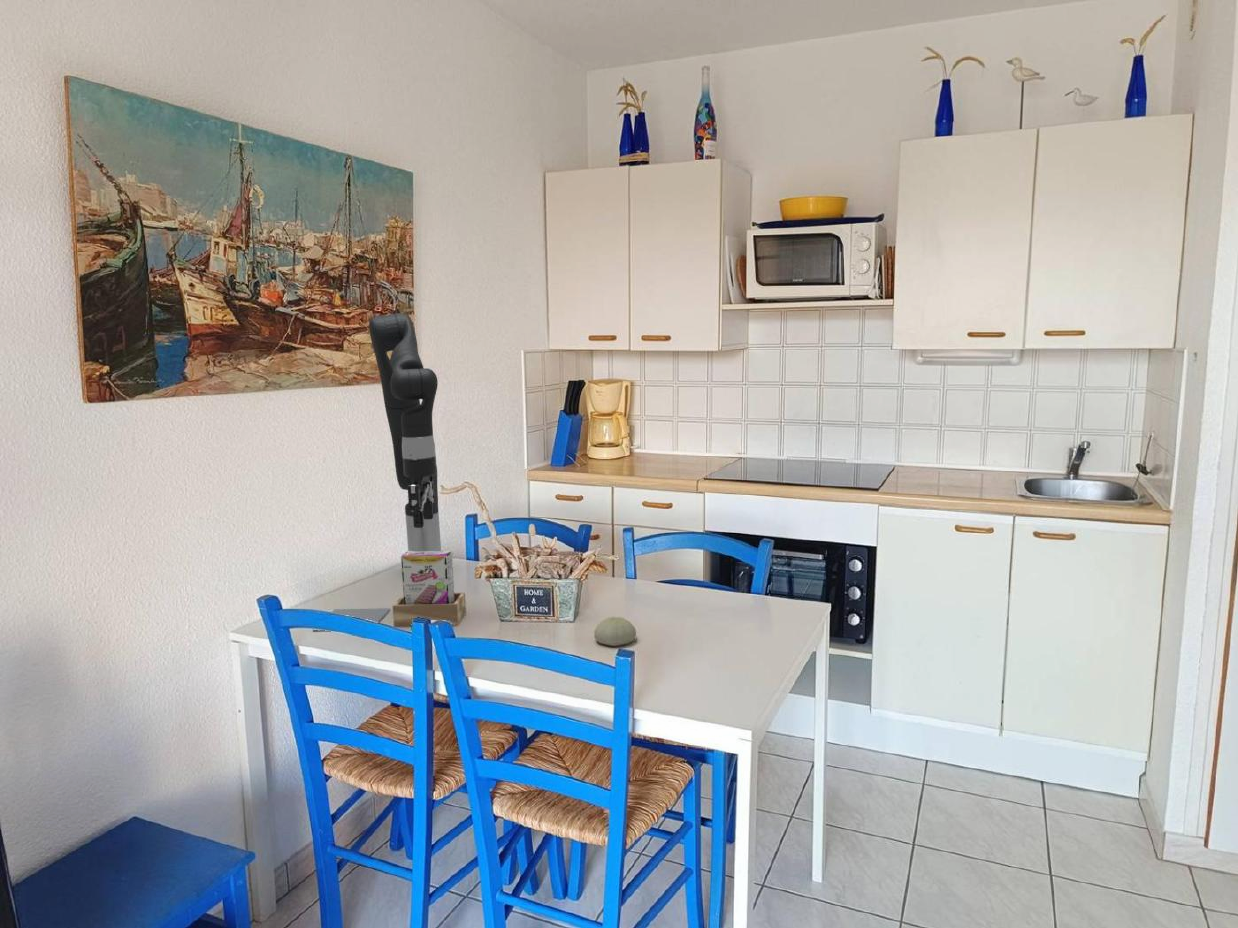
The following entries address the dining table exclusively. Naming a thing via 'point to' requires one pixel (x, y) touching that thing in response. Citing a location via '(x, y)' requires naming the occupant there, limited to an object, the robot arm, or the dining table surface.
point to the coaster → (364, 613)
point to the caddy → (429, 611)
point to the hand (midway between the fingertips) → (423, 523)
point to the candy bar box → (428, 577)
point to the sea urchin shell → (615, 631)
